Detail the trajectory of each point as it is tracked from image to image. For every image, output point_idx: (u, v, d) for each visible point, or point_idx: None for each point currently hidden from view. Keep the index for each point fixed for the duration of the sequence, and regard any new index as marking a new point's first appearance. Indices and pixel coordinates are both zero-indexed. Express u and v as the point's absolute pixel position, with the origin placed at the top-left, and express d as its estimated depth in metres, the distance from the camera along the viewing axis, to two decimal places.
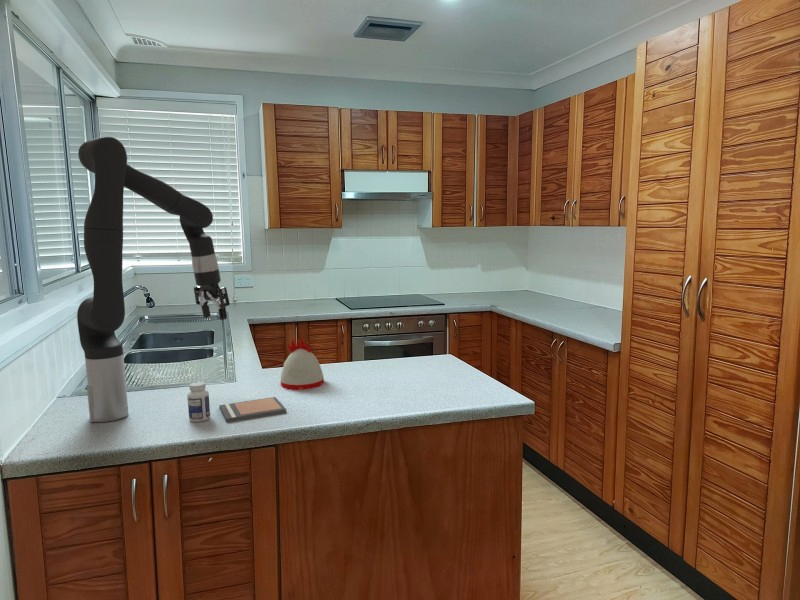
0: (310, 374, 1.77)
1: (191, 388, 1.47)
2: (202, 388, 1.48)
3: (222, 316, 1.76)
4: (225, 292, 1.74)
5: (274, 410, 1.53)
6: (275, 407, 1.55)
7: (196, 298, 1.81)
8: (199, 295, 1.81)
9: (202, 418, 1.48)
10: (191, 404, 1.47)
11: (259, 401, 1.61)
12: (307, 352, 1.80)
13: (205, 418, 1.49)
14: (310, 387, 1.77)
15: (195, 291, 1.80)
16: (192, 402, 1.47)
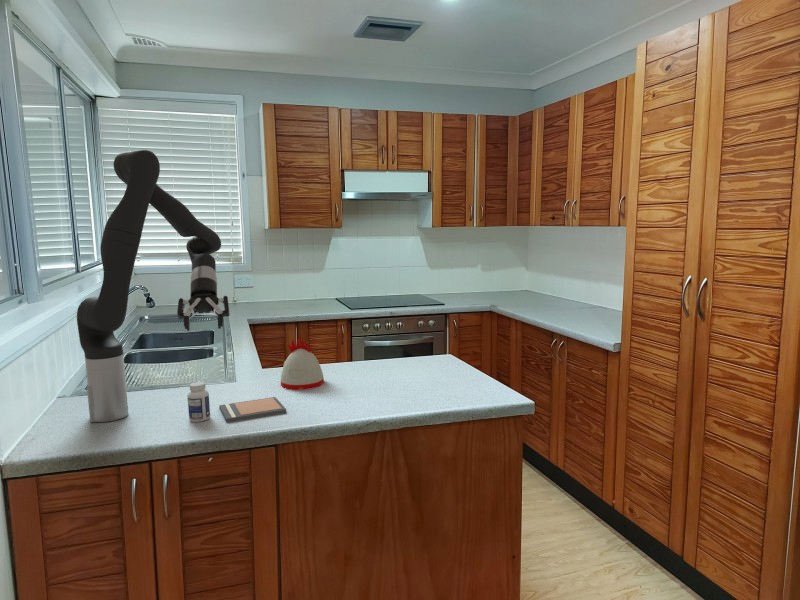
0: (310, 374, 1.77)
1: (191, 388, 1.47)
2: (202, 388, 1.48)
3: (221, 322, 1.61)
4: None
5: (274, 410, 1.53)
6: (275, 407, 1.55)
7: (180, 308, 1.61)
8: (182, 308, 1.62)
9: (202, 418, 1.48)
10: (191, 404, 1.47)
11: (259, 401, 1.61)
12: (307, 352, 1.80)
13: (205, 418, 1.49)
14: (310, 387, 1.77)
15: (180, 302, 1.62)
16: (192, 402, 1.47)
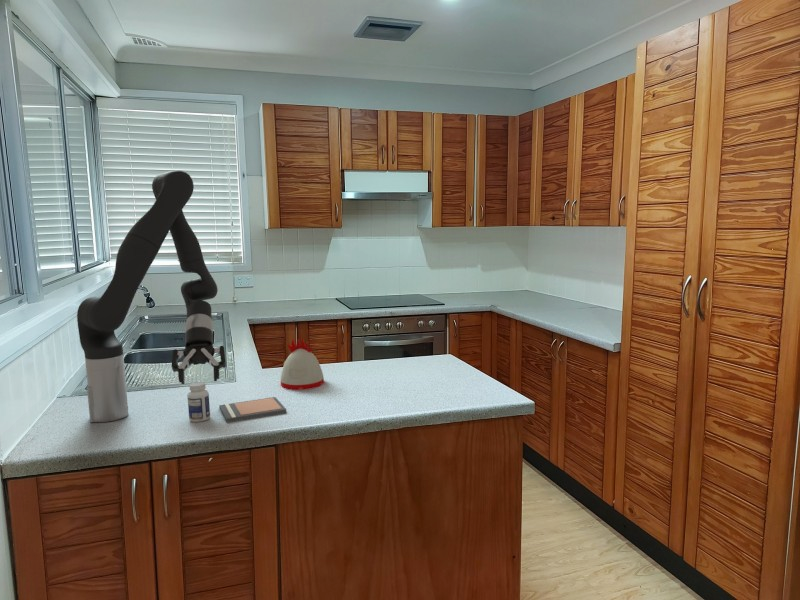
0: (310, 374, 1.77)
1: (191, 388, 1.47)
2: (202, 388, 1.48)
3: (217, 374, 1.55)
4: (224, 353, 1.61)
5: (274, 410, 1.53)
6: (275, 407, 1.55)
7: (174, 360, 1.55)
8: (177, 360, 1.56)
9: (202, 418, 1.48)
10: (191, 404, 1.47)
11: (259, 401, 1.61)
12: (307, 352, 1.80)
13: (205, 418, 1.49)
14: (310, 387, 1.77)
15: (175, 353, 1.56)
16: (192, 402, 1.47)
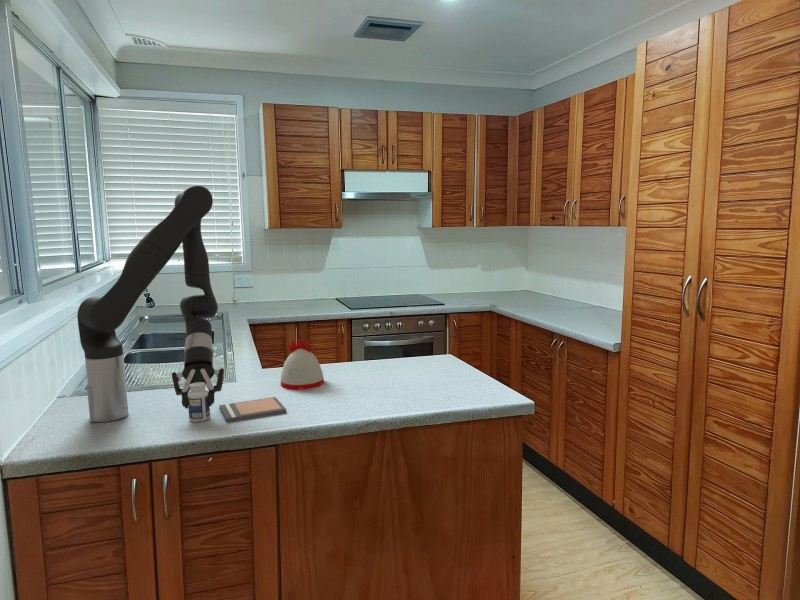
0: (310, 374, 1.77)
1: (191, 388, 1.47)
2: (202, 388, 1.48)
3: (212, 399, 1.49)
4: (223, 376, 1.55)
5: (274, 410, 1.53)
6: (275, 407, 1.55)
7: (176, 384, 1.49)
8: None
9: (202, 418, 1.48)
10: (191, 404, 1.47)
11: (259, 401, 1.61)
12: (307, 352, 1.80)
13: (205, 418, 1.49)
14: (310, 387, 1.77)
15: (174, 376, 1.51)
16: (192, 402, 1.47)
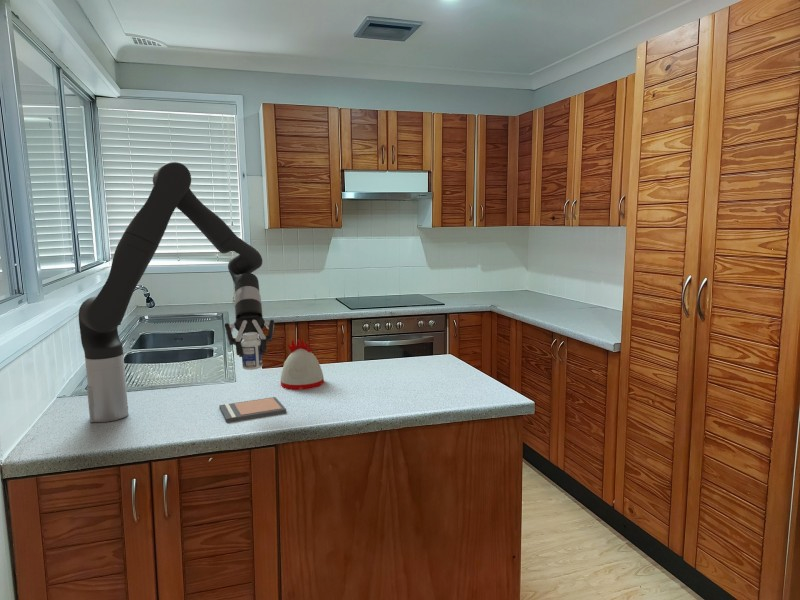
0: (310, 374, 1.77)
1: (245, 337, 1.52)
2: (255, 337, 1.53)
3: (265, 348, 1.54)
4: (273, 328, 1.60)
5: (274, 410, 1.53)
6: (275, 407, 1.55)
7: (229, 334, 1.54)
8: None
9: (256, 366, 1.53)
10: (245, 353, 1.52)
11: (259, 401, 1.61)
12: (307, 352, 1.80)
13: (258, 366, 1.54)
14: (310, 387, 1.77)
15: (227, 327, 1.56)
16: (246, 351, 1.52)
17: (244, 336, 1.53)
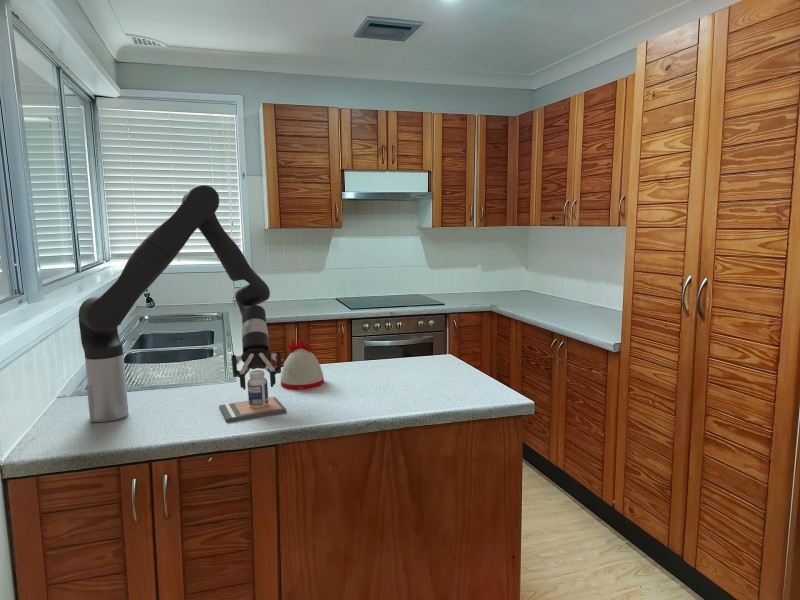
0: (310, 374, 1.77)
1: (251, 376, 1.54)
2: (262, 376, 1.55)
3: (274, 380, 1.56)
4: None
5: (274, 410, 1.53)
6: (275, 407, 1.55)
7: (234, 366, 1.56)
8: (236, 365, 1.57)
9: (262, 404, 1.55)
10: (252, 391, 1.54)
11: None
12: (307, 352, 1.80)
13: (264, 404, 1.55)
14: (310, 387, 1.77)
15: (234, 359, 1.57)
16: (253, 389, 1.54)
17: (251, 375, 1.54)
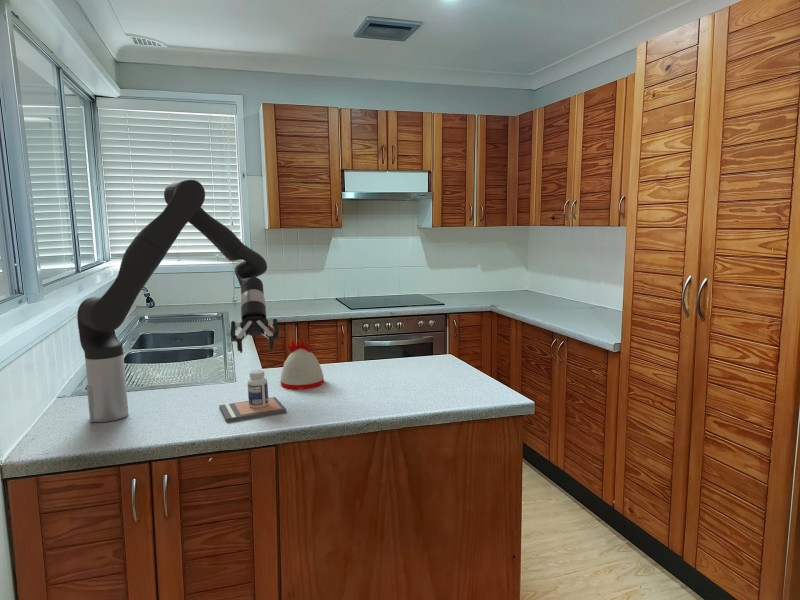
0: (310, 374, 1.77)
1: (251, 376, 1.54)
2: (262, 375, 1.55)
3: (272, 344, 1.68)
4: None
5: (274, 410, 1.53)
6: (275, 407, 1.55)
7: (232, 331, 1.68)
8: None
9: (262, 404, 1.55)
10: (252, 391, 1.54)
11: None
12: (307, 352, 1.80)
13: (264, 404, 1.55)
14: (310, 387, 1.77)
15: (233, 325, 1.69)
16: (253, 389, 1.54)
17: (251, 375, 1.54)
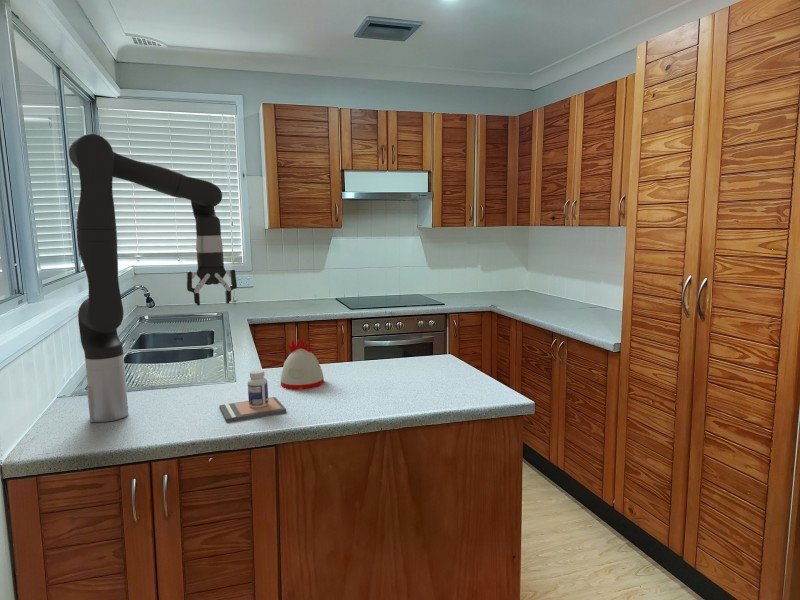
0: (310, 374, 1.77)
1: (251, 375, 1.54)
2: (262, 375, 1.55)
3: (230, 299, 1.71)
4: None
5: (274, 410, 1.53)
6: (275, 407, 1.55)
7: (189, 284, 1.65)
8: (191, 281, 1.66)
9: (262, 404, 1.55)
10: (252, 391, 1.54)
11: None
12: (307, 352, 1.80)
13: (264, 404, 1.55)
14: (310, 387, 1.77)
15: (190, 276, 1.65)
16: (253, 389, 1.54)
17: (251, 375, 1.54)
